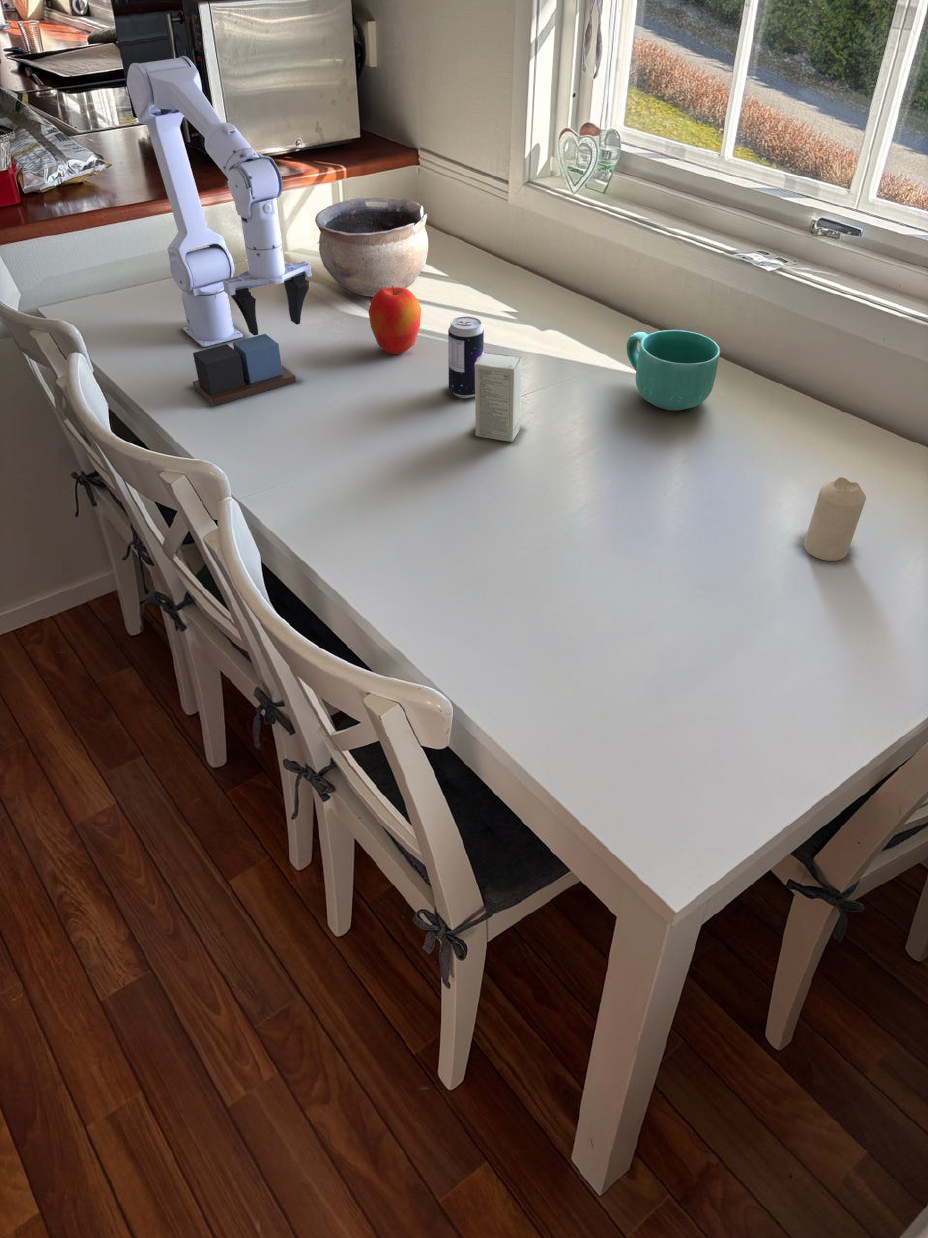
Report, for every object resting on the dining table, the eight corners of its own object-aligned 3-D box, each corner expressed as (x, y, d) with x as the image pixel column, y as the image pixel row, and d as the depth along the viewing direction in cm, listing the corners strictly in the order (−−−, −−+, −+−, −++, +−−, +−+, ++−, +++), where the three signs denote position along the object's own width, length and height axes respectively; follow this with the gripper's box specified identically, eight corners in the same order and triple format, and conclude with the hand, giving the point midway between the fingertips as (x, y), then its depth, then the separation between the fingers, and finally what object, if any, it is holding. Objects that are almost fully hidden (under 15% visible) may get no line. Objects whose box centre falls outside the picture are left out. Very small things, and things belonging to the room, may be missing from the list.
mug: (726, 406, 150) (737, 351, 144) (669, 426, 145) (678, 370, 139) (657, 368, 161) (664, 315, 155) (601, 386, 156) (607, 332, 149)
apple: (391, 367, 161) (388, 299, 153) (360, 350, 166) (355, 283, 158) (432, 351, 166) (431, 285, 158) (401, 336, 171) (398, 270, 163)
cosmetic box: (520, 429, 144) (523, 356, 136) (512, 443, 141) (515, 369, 133) (482, 423, 146) (483, 350, 138) (473, 436, 143) (474, 362, 135)
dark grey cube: (198, 383, 153) (192, 352, 150) (232, 374, 156) (226, 343, 152) (211, 395, 150) (205, 363, 147) (245, 385, 153) (239, 354, 149)
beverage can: (479, 401, 151) (480, 331, 144) (445, 398, 152) (444, 328, 144) (485, 385, 156) (486, 316, 148) (452, 382, 156) (452, 313, 149)
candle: (797, 537, 123) (816, 472, 116) (837, 535, 123) (858, 471, 117) (812, 562, 119) (833, 497, 112) (854, 560, 119) (877, 495, 112)
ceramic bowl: (426, 311, 179) (424, 231, 169) (315, 310, 179) (306, 231, 170) (431, 270, 196) (429, 195, 186) (329, 269, 196) (322, 194, 186)
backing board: (193, 387, 155) (192, 381, 154) (274, 365, 161) (273, 358, 161) (213, 406, 150) (212, 399, 149) (295, 382, 156) (295, 375, 156)
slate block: (250, 384, 153) (245, 352, 150) (237, 372, 156) (232, 341, 153) (282, 374, 156) (278, 343, 152) (269, 363, 159) (265, 333, 155)
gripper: (231, 260, 139) (245, 346, 147) (316, 241, 145) (325, 325, 154) (212, 247, 143) (226, 331, 152) (295, 229, 149) (305, 311, 158)
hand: (274, 327), depth 153 cm, fingers open, 7 cm apart
